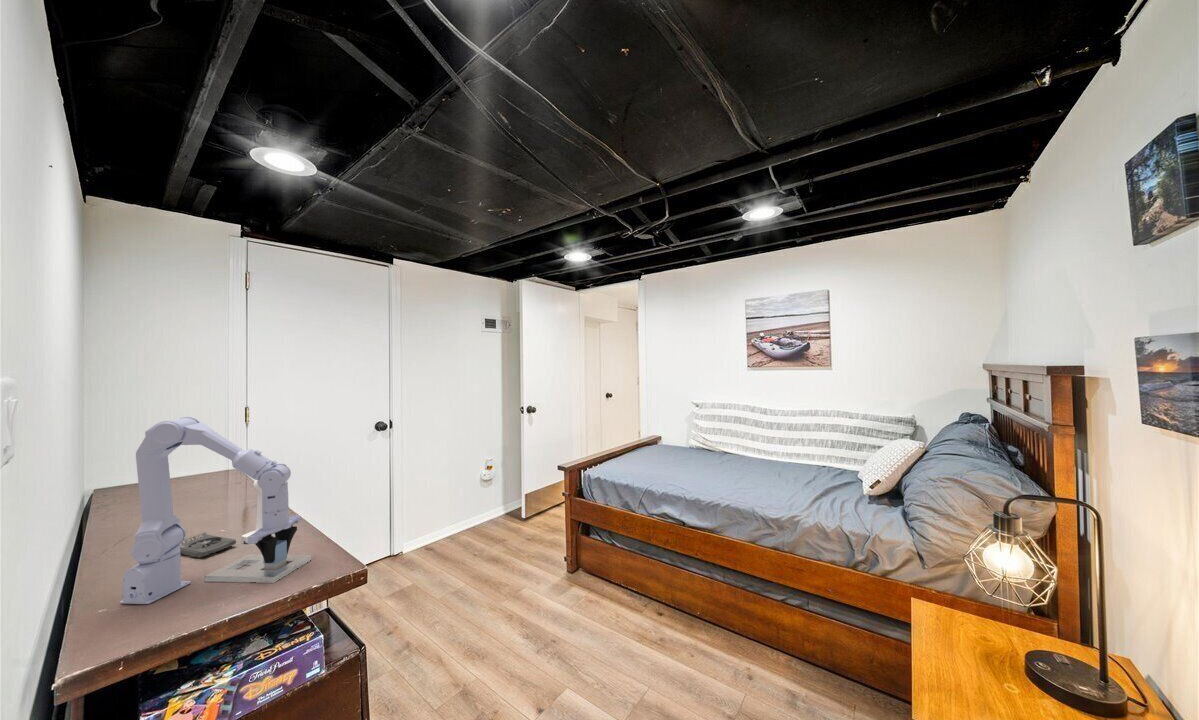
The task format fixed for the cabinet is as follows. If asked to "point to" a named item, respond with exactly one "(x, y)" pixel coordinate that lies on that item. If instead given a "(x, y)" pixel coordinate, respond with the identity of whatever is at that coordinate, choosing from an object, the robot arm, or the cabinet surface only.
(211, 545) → the graphics card
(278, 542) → the plug
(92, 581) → the cabinet surface
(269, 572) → the panel
